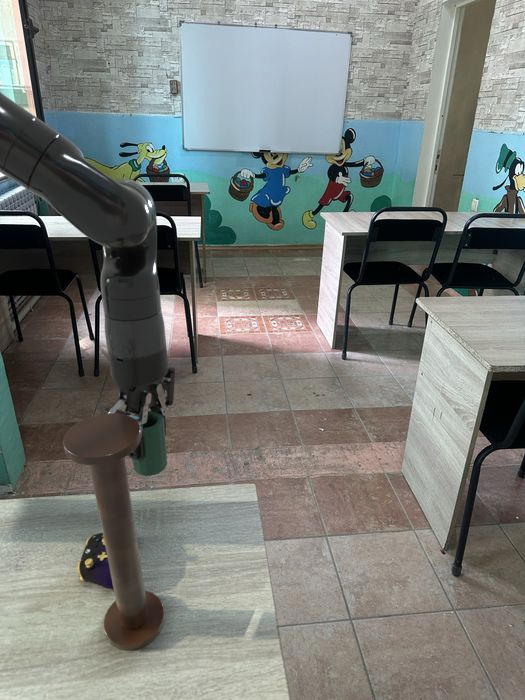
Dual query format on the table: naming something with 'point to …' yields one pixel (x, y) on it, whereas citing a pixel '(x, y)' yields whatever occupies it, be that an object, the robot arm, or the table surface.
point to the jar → (152, 446)
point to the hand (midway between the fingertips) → (148, 446)
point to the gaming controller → (95, 563)
